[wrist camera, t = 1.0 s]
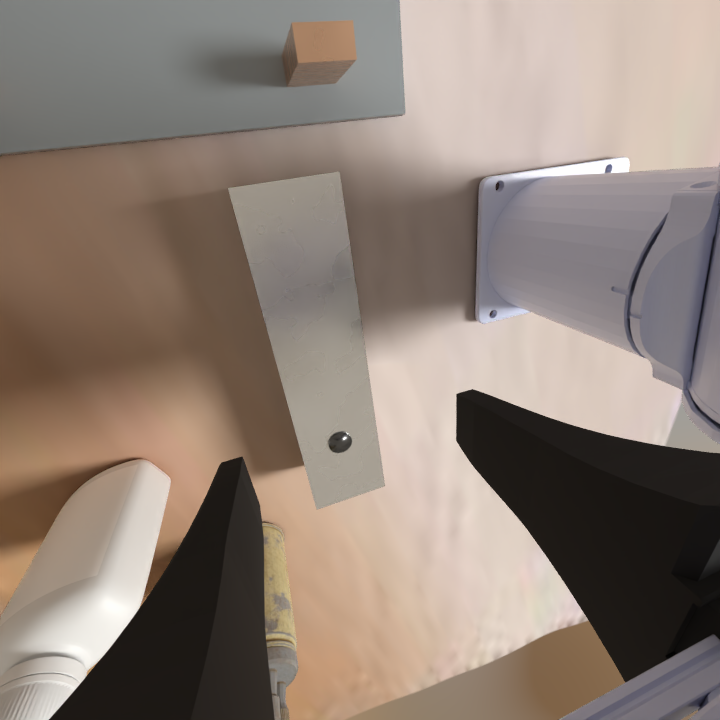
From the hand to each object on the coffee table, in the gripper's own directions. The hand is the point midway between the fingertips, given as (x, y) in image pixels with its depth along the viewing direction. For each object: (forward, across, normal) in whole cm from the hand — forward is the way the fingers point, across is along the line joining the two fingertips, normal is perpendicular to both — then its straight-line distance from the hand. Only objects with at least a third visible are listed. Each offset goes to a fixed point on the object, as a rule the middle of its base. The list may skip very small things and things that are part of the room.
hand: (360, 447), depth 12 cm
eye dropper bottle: (+9, +12, +6) cm, 16 cm away
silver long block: (+9, 0, 0) cm, 9 cm away
